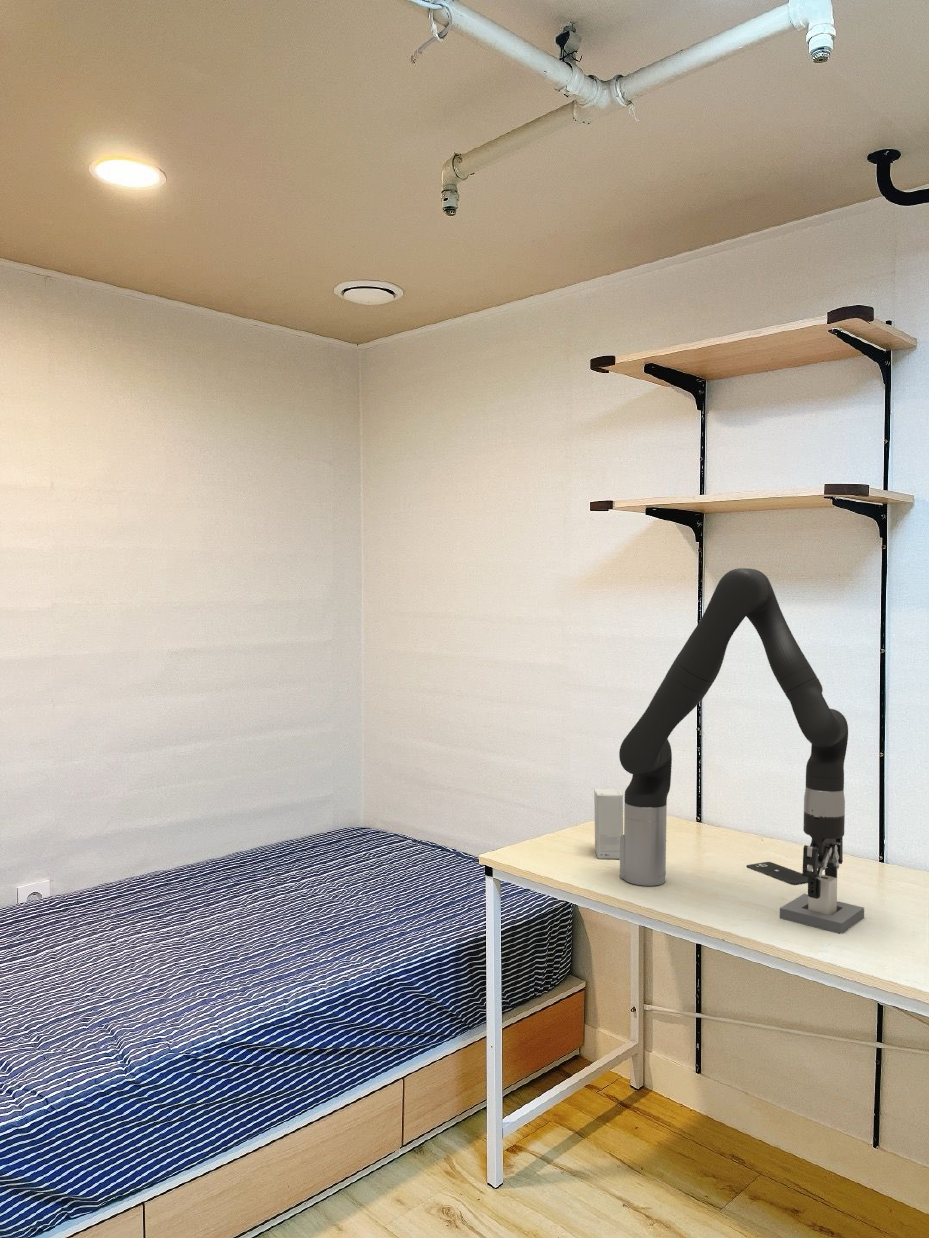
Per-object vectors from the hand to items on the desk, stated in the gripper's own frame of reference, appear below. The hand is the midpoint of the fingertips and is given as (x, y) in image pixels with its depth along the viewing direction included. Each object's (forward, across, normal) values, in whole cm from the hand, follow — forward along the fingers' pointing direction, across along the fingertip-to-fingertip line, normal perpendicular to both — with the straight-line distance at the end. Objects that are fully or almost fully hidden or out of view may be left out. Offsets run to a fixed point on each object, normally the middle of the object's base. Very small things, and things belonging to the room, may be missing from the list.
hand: (822, 892), depth 179 cm
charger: (+5, 0, 0) cm, 5 cm away
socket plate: (+5, 0, 0) cm, 5 cm away
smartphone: (+6, -22, -18) cm, 29 cm away
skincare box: (+5, -7, -55) cm, 56 cm away
